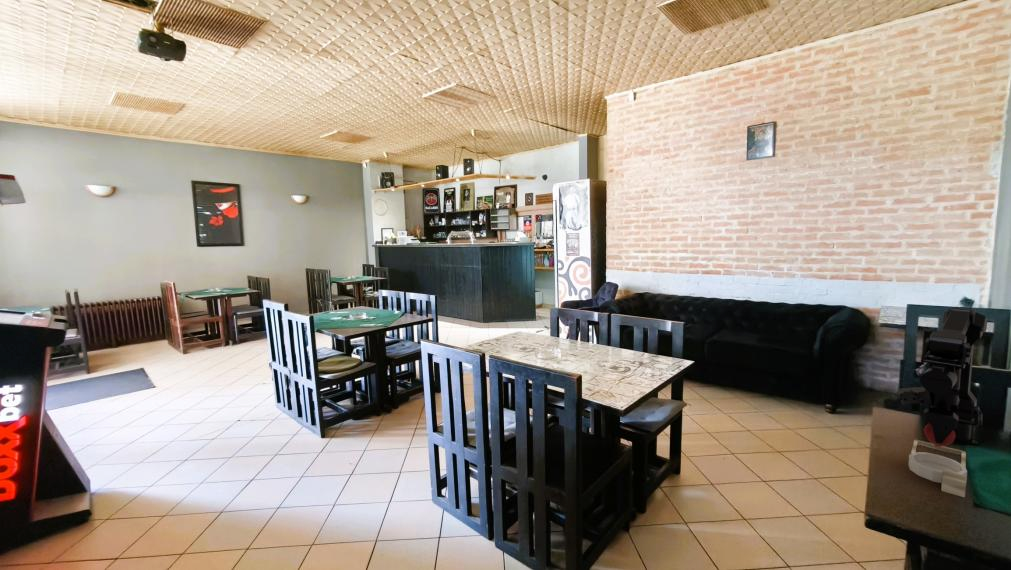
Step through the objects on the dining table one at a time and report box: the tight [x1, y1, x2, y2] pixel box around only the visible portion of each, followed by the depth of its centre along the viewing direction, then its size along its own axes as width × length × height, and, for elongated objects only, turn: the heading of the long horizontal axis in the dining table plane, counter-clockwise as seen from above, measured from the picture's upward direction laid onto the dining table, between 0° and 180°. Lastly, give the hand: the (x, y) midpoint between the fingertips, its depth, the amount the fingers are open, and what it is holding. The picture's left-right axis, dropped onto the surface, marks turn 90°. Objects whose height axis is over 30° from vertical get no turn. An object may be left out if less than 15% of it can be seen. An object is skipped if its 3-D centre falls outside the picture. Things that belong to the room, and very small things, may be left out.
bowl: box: [908, 451, 968, 484], centre depth 112 cm, size 11×11×3 cm
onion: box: [923, 423, 955, 447], centre depth 111 cm, size 6×6×8 cm
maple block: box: [940, 470, 967, 498], centre depth 105 cm, size 4×4×4 cm
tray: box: [910, 438, 967, 469], centre depth 120 cm, size 11×11×1 cm
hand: (939, 438), depth 111 cm, fingers closed on onion, 6 cm apart
